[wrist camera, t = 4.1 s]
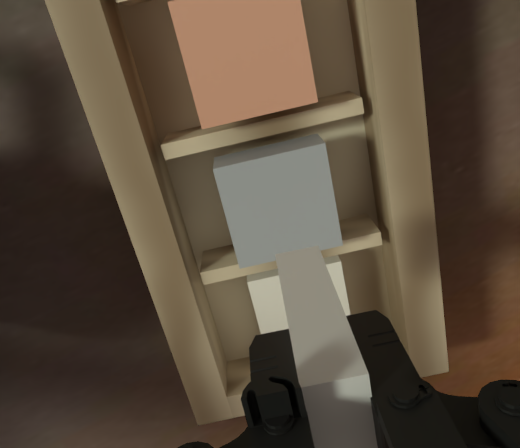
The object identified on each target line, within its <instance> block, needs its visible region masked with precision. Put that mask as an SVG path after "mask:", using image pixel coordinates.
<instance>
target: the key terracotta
mask: <svg viewBox="0 0 520 448" xmlns="http://www.w3.org/2000/svg"><path fill="white" fill-rule="evenodd" d="M167 3H168V6H169V10H170V14H171V17H172V21H173V25H174V28H175V32H176V36H177V40H178V43H179V47H180V51H181V54H182V58H183V62H184V65H185V69H186V73H187V76H188V80H189V84H190V87H191V91H192V95H193V99H194V102H195V106H196V110H197V113H198V117H199V121H200V124H201V128H202V129H207V128H211V127H215V126H219V125H223V124H228V123H232V122H236V121H240V120H245V119H249V118H253V117H257V116H262V115H266V114H270V113H274V112H278V111H283V110H287V109H291V108H295V107H300V106H304V105H308V104H312V103H317V102H318V98H317V92H316V87H315V81H314V75H313V69H312V64H311V58H310V52H309V46H308V41H307V35H306V29H305V23H304V18H303V12H302V6H301V0H173V1H169V2H167Z"/></svg>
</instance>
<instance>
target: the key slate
mask: <svg viewBox="0 0 520 448" xmlns="http://www.w3.org/2000/svg"><path fill="white" fill-rule="evenodd" d="M213 172H214V176H215V180H216V183H217V187H218V191H219V194H220V198H221V202H222V205H223V209H224V213H225V217H226V220H227V224H228V228H229V231H230V235H231V239H232V242H233V246H234V250H235V253H236V257H237V261H238V265H239V268H240V269H241V268H245V267H250V266H254V265H259V264H263V263H267V262H272V261H276V257H275V254H279V253H284V252H289V251H294V250H299V249H304V248H308V247H313V246H319V249H320V251H321V250H325V249H330V248H334V247H338V246H343V242H342V236H341V231H340V225H339V219H338V213H337V208H336V202H335V196H334V190H333V184H332V179H331V173H330V167H329V161H328V156H327V150H326V144H325V142H324V141H323V140H322V138H321V137H320V136H319V135H318V134H312V135H308V136H304V137H300V138H295V139H291V140H287V141H282V142H278V143H274V144H270V145H265V146H261V147H257V148H253V149H248V150H244V151H240V152H235V153H231V154H227V155H223V156H218V157H214V163H213Z"/></svg>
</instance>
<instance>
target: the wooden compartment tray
mask: <svg viewBox="0 0 520 448" xmlns="http://www.w3.org/2000/svg"><path fill="white" fill-rule="evenodd" d="M169 1H173V0H45V2H46V5H47V8H48V11H49V14H50V16H51V19H52V22H53V25H54V27H55V30H56V33H57V36H58V38H59V41H60V44H61V47H62V50H63V52H64V55H65V58H66V61H67V63H68V66H69V69H70V72H71V75H72V77H73V80H74V83H75V86H76V88H77V91H78V94H79V97H80V100H81V102H82V105H83V108H84V111H85V113H86V116H87V119H88V122H89V125H90V127H91V130H92V133H93V136H94V138H95V141H96V144H97V147H98V150H99V152H100V155H101V158H102V161H103V163H104V166H105V169H106V172H107V175H108V177H109V180H110V183H111V186H112V188H113V191H114V194H115V197H116V200H117V202H118V205H119V208H120V211H121V213H122V216H123V219H124V222H125V225H126V227H127V230H128V233H129V236H130V238H131V241H132V244H133V247H134V250H135V252H136V255H137V258H138V261H139V263H140V266H141V269H142V272H143V275H144V277H145V280H146V283H147V286H148V288H149V291H150V294H151V297H152V300H153V302H154V305H155V308H156V311H157V313H158V316H159V319H160V322H161V325H162V327H163V330H164V333H165V336H166V338H167V341H168V344H169V347H170V350H171V352H172V355H173V358H174V361H175V363H176V366H177V369H178V372H179V374H180V377H181V380H182V383H183V386H184V388H185V391H186V394H187V397H188V399H189V402H190V405H191V408H192V411H193V413H194V416H195V419H196V422H197V424H198V426H199V425H203V424H208V423H213V422H217V421H222V420H227V419H231V418H236V417H241V416H245V413H244V410H243V406H242V402H241V396H242V392H243V390H244V389H245V387H246V386H247V385H248V383H249V382H251V377H250V374H251V373H250V357H249V347H250V345H251V343H252V341H253V339H254V337H255V335H260V334H261V332H260V329H259V325H258V321H257V318H256V314H255V310H254V306H253V303H252V299H251V295H250V291H249V288H248V284H247V275H251V274H255V273H260V272H264V271H269V270H273V269H277V263H276V261H272V262H267V263H263V264H259V265H254V266H250V267H245V268H241V269H240V268H239V265H238V261H237V257H236V253H235V250H234V246H233V242H232V239H231V235H230V231H229V228H228V224H227V220H226V217H225V213H224V209H223V205H222V202H221V198H220V194H219V191H218V187H217V183H216V180H215V176H214V172H213V163H214V157H218V156H223V155H227V154H231V153H235V152H240V151H244V150H248V149H253V148H257V147H261V146H265V145H270V144H274V143H278V142H282V141H287V140H291V139H295V138H300V137H304V136H308V135H312V134H318V135H319V136H320V137H321V138H322V140H323V141H324V142H325V144H326V150H327V156H328V161H329V167H330V173H331V179H332V184H333V190H334V196H335V202H336V208H337V213H338V219H339V225H340V231H341V236H342V242H343V246H338V247H334V248H330V249H325V250H321V254H322V256H323V258H326V257H331V256H335V255H338V256H339V258H340V260H341V264H342V270H343V275H344V281H345V287H346V292H347V298H348V303H349V309H350V315H353V314H358V313H363V312H367V311H372V310H377V311H379V312H380V313H381V314H383V315H384V316H386V317H387V318H389V320H390V322H391V324H392V326H393V328H394V329H395V332H396V333H397V335H398V337H399V339H400V342H402V344H403V346H404V348H405V350H406V352H407V354H408V355H409V357H410V359H411V361H412V363H413V365H414V367H415V368H416V370H417V372H418V374H419V376H420V378H422V377H426V376H431V375H436V374H440V373H445V372H449V366H448V354H447V343H446V332H445V321H444V310H443V299H442V288H441V277H440V265H439V254H438V243H437V232H436V221H435V210H434V199H433V188H432V176H431V165H430V154H429V143H428V132H427V121H426V110H425V99H424V87H423V76H422V65H421V54H420V43H419V32H418V21H417V10H416V0H301V6H302V12H303V18H304V23H305V29H306V35H307V41H308V46H309V52H310V58H311V64H312V69H313V75H314V81H315V87H316V92H317V98H318V102H317V103H312V104H308V105H304V106H300V107H295V108H291V109H287V110H283V111H278V112H274V113H270V114H266V115H262V116H257V117H253V118H249V119H245V120H240V121H236V122H232V123H228V124H223V125H219V126H215V127H211V128H207V129H202V128H201V124H200V121H199V117H198V113H197V110H196V106H195V102H194V99H193V95H192V91H191V87H190V84H189V80H188V76H187V73H186V69H185V65H184V62H183V58H182V54H181V51H180V47H179V43H178V40H177V36H176V32H175V28H174V25H173V21H172V17H171V14H170V10H169V6H168V3H167V2H169Z"/></svg>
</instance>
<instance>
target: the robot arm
mask: <svg viewBox="0 0 520 448" xmlns="http://www.w3.org/2000/svg"><path fill="white" fill-rule="evenodd" d="M275 257H276V263H277V268H278V274H279V279H280V284H281V290H282V295H283V300H284V306H285V311H286V317H287V322H288V327H289V329H285V330H280V331H275V332H270V333H265V334H260V335H255V337H254V339H253V341H252V343H251V345H250V347H249V357H250V373H251V374H250V377H251V382H249V383H248V385H247V386H246V387H245V389H244V390H243V392H242V396H241V402H242V406H243V410H244V413H245V417H246V420H247V424H248V427H247V428H246V430H245V431H244V432H243V433H242V434H241V435H240V436H239V437H238V438H236V439H235V440H233V441H231V442H230V443H228V444H226V445H224V446H222V447H220V448H520V381H516V380H498V381H494V382H490V383H488V384H487V385H485V386H484V387H482V389H481V391H480V393H479V395H478V397H461V396H452V395H447V394H443V393H440V392H438V391H436V390H435V389H434V388H433V387H432V386H431V385H430V384H429V383H428V382H426V381H424V380H422V379H421V378H420V376H419V374H418V372H417V370H416V368H415V367H414V365H413V363H412V361H411V359H410V357H409V355H408V354H407V352H406V350H405V348H404V346H403V344H402V342H400V339H399V337H398V335H397V333H396V332H395V329H394V328H393V326H392V324H391V322H390V320H389V318H387V317H386V316H384V315H383V314H381V313H380V312H379V311H377V310H372V311H367V312H363V313H358V314H353V315H348V316H346V315H345V312H344V310H343V307H342V305H341V302H340V300H339V297H338V294H337V292H336V289H335V287H334V284H333V282H332V279H331V277H330V274H329V272H328V269H327V267H326V264H325V261H324V259H323V256H322V254H321V251H320V249H319V246H313V247H308V248H304V249H299V250H294V251H289V252H284V253H279V254H275ZM178 448H213V447H212V446H211V445H209V444H208V443H203V442H192V443H186V444H184V445H182V446H180V447H178Z"/></svg>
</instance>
